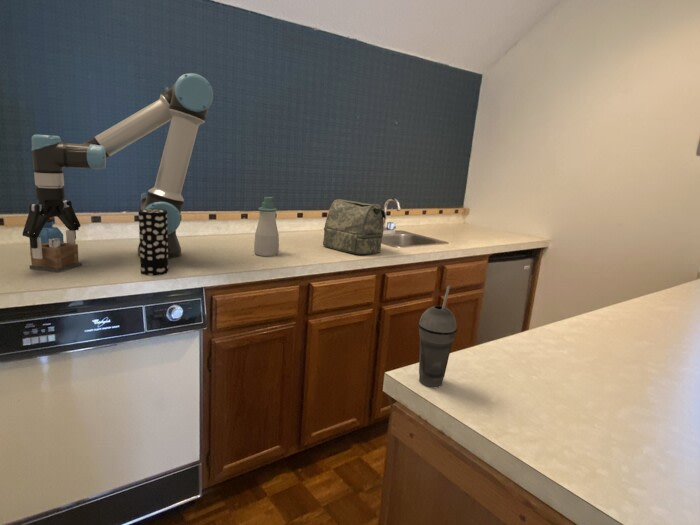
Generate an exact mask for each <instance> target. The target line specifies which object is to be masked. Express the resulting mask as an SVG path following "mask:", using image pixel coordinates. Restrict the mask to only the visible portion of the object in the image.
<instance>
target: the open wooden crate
mask: <svg viewBox="0 0 700 525" xmlns="http://www.w3.org/2000/svg"><path fill="white" fill-rule="evenodd" d="M41 247H42V258H43V259H36V258H33V255H32V248H31V247H30V246H29V250H30V261H31V265H33V266H41V267H49V268H57V269H58V268H61V267H64V266H68V265H71V264H74V263H78V262H80V259H79V245H78V243H76V244H71V243H67V242H64V243H62V242H60V247H57V248H51V247H49V243H44V244H41Z"/></svg>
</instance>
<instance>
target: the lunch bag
mask: <svg viewBox="0 0 700 525" xmlns="http://www.w3.org/2000/svg"><path fill="white" fill-rule="evenodd" d="M386 217H387V216H386V212H385V210H384V209H383V208H382V206H381V205H380V204H376V203H365V202H359V201H353V200H348V199H347V200H346V199H342V198H339V199H338V198H337V199H334V201H332V203H331V204H330V207H329V210H328V213H327V216H326V219H325V222H324V227H323V230H324V231H323V241H322V245H323V246H325V247H326V248H329V249H334V250H337V251H341V252H345V253H348V254H354V255H359V256H361V255H362V256H363V255H371V254H379V253H380V252H381V249H382V241H383V235H384V223H385V222H384V220H385V219H387V218H386Z"/></svg>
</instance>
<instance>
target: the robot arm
mask: <svg viewBox="0 0 700 525" xmlns="http://www.w3.org/2000/svg"><path fill="white" fill-rule="evenodd" d="M210 83H211V82H209V81H208V80H207V79H206V78H205V77H204V76H202V75H200V74H198V73H194V72H191V73H189V72H188V73H184V74H182V75H181V76H179V77H178V78H177V80H176V81H175V83H174V84H173V85H172V86H170V88H169V89H168V90H166V91H164V92H163V93H161V94H160V95H159V99H157V100H156V101H154V102H152V103H150V104H149V105H146V106H145V107H143V108H142V109H140V110H138V111H137V112H135V113H133V114H131V115H129V116H128V117H126V118H125V119H123V120H121V121H119V122H118V123H116V124H114V125H112V126H111V127H109V128H108V129H106V130H104V131H102V132H101V133H98V134H97V135H95V136H93V137H92V138H91V139H89V140H86V141H85V142H82V143H71V142H70V143H68V142H62V140H61V137H60V136H59V135H48V134H33V135H32V136H31V155H32V166H33V176H34V185H35V186H36V187H35V198H36V200H38V204H36V203H35V204H34V203H33V204H32V203H30V204H29V207H28V208H29V211H28V215H27V219H26V220H25V224H24V226H23V227H24V228H23V230H22V236H23V237H27V238H28V239H29V245H30V246H29V248H30V247H31V248H32V255H33V258H36V259H43V258H42V247H41V238H39V237H38V236H39V234H40V232H41V230H42V229H43V227H44V225H45V223H46V221H47V220H48V219H50V218H52V219H53V218H55V217H56V218H58V219H59V220H60V222H61V223H63V225H64V226H65V227H66V228H67V229H66V230H65V236H66V243H71V244H77V243H76V240H77V235H76V234H77V231H79V228H81V223H80V221H79V219H78V216H77V214H76V212H75V210H74V209H73V205H72V203H73V202H72V201H71V200H65V199H66V193H65V188H64V186H65V177H64V170H63V169H65V168H66V169H85V170H93V171H94V170H105V169H106V167H107V159H108V158H110V157H111V156H113V155H115V154H116V153H118V152H120V151H122V150H123V149H124V148H126V147H128V146H130V145H131V144H133V143H135V142H137V141H138V140H140V139H141V138H144V137H145V136H147V135H148V134H150V133H152V132H154V131H155V130H157V129H158V128H160V127H162V126H163V125H165V124H167V123H168V122H170V124H169V127H168V128H169V129H168V132H167V136H166V140H165V143H164V148H163V151H162V156H161V159H160V163H159V164H160V165H159V168H158V171H157V174H156V180H155V184H154V185H153V187H152V188H150V189H148V191H147V192H143V193H141V195H140V206H141V207H140V208H141V209H140V210H144V209H159V210H166V211H167V226H168V259H172V258H177V257H179V256H181V255H182V247H181V243H180V242H179V239H178V236H177V229H178V228H179V227H180V225H181V220H182V219H181V218H182V216H181V214H182V210H183V206H184V202H185V199H184V197H183V195H182V190H183V186H184V183H185V180H186V175H187V172H188V168H189V165H190V161H191V157H192V153H193V149H194V146H195V145H194V144H195V141H196V138H197V135H198V130H199V127H200V126H201V125H202V124H205V122H206V119H207V115H208V111H209V109H210V107H211V105H212V103H213V101H214V91H213V87H212V84H210ZM137 256H138V257H140V242H139V243H138V246H137Z"/></svg>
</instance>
